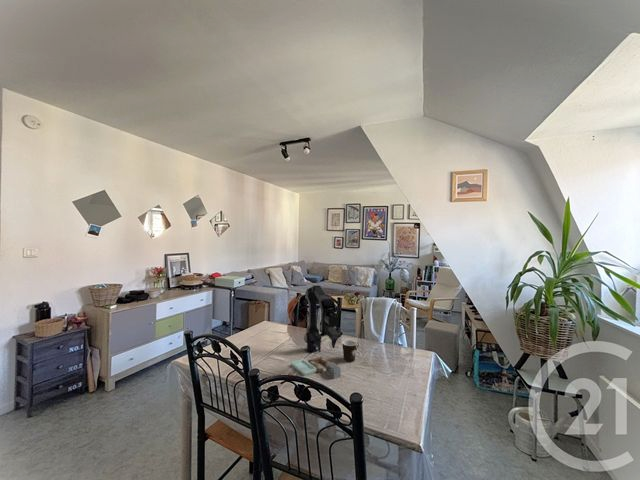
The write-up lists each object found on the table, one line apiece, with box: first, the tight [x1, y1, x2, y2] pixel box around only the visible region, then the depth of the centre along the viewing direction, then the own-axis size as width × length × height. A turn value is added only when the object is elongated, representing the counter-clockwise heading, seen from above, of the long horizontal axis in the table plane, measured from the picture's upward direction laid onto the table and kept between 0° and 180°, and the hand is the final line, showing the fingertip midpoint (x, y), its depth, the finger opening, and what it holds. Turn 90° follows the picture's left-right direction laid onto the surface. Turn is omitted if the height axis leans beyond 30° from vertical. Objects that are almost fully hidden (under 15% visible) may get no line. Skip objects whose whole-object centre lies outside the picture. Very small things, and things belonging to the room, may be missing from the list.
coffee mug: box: [341, 339, 360, 363], centre depth 165 cm, size 12×9×10 cm
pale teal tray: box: [291, 358, 318, 377], centre depth 153 cm, size 14×8×2 cm, turn 34°
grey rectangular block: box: [325, 361, 342, 380], centre depth 147 cm, size 8×4×5 cm, turn 30°
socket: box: [307, 356, 330, 373], centre depth 157 cm, size 12×9×2 cm
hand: (326, 349), depth 152 cm, fingers open, 9 cm apart
